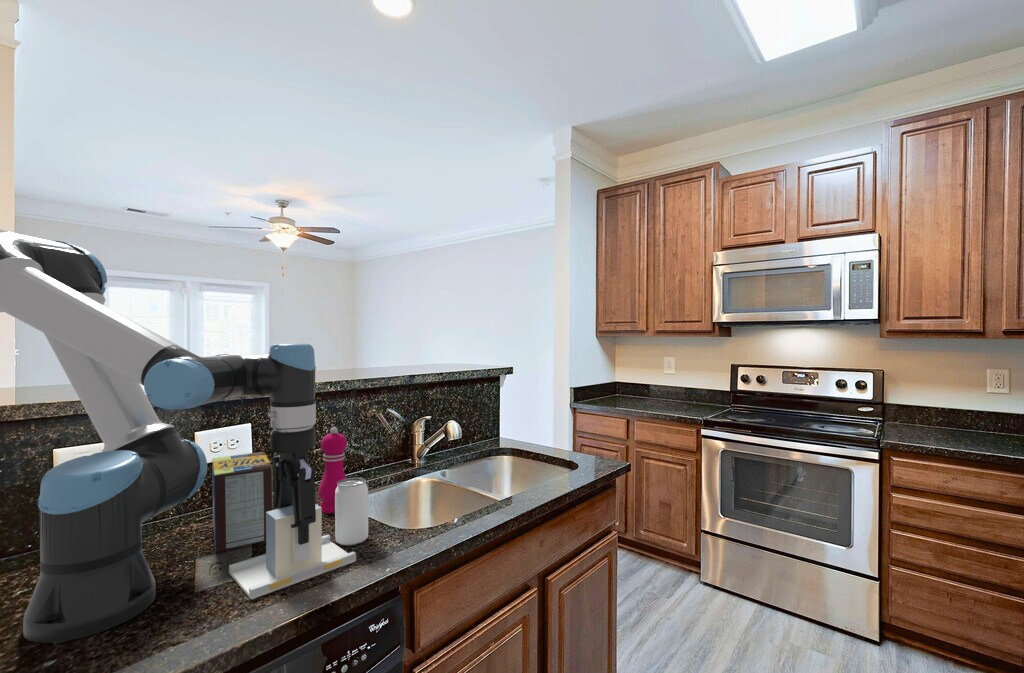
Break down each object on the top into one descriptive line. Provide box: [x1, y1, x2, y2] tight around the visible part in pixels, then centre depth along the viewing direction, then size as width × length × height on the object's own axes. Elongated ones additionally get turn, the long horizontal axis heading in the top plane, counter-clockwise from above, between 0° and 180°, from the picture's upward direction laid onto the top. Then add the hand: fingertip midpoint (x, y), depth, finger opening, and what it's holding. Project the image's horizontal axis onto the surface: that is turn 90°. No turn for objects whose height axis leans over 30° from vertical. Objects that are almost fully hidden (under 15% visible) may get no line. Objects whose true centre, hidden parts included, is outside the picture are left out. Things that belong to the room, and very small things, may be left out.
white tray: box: [228, 534, 357, 600], centre depth 87 cm, size 18×12×2 cm
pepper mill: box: [317, 426, 348, 514], centre depth 116 cm, size 7×7×20 cm
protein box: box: [211, 451, 274, 553], centre depth 102 cm, size 10×15×16 cm
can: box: [334, 477, 369, 547], centre depth 98 cm, size 6×6×12 cm
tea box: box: [265, 503, 323, 577], centre depth 87 cm, size 8×5×10 cm, turn 135°
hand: (294, 554), depth 87 cm, fingers open, 6 cm apart
